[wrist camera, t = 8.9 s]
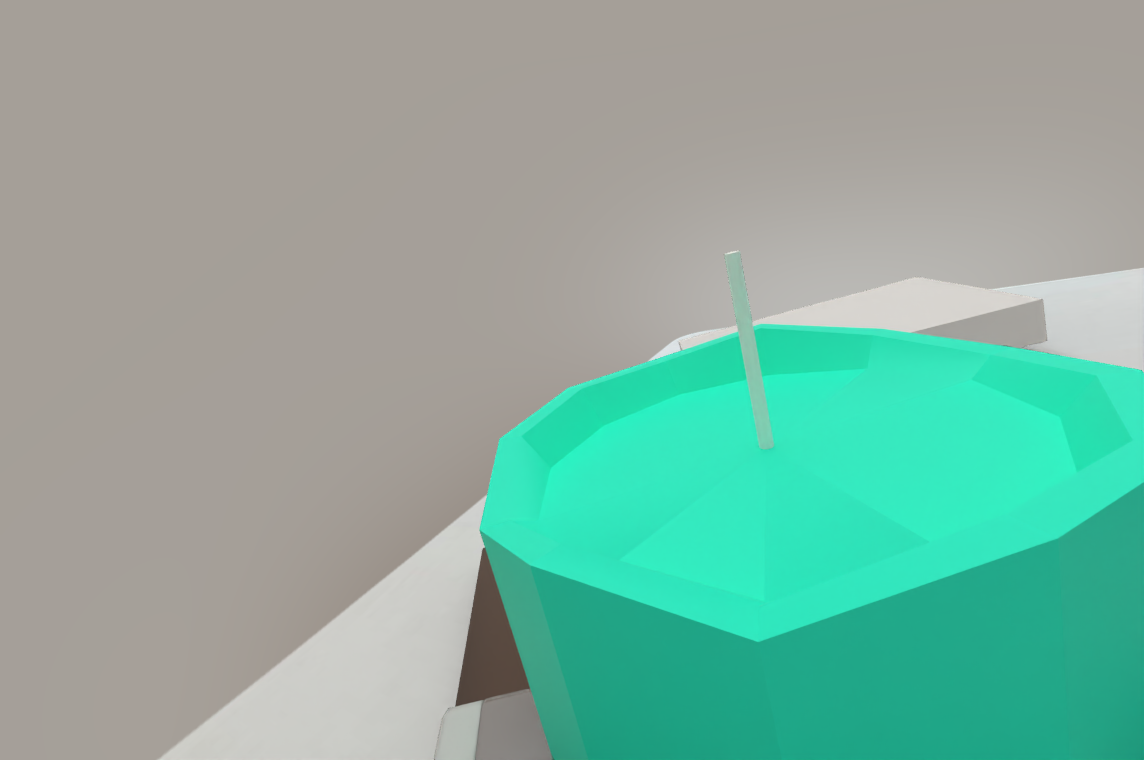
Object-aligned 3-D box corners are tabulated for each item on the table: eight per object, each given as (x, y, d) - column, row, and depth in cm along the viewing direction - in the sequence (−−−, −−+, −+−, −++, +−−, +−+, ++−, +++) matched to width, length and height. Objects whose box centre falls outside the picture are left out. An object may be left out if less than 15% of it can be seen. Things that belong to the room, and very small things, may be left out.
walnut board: (454, 793, 17) (444, 766, 16) (488, 565, 28) (482, 547, 28) (1129, 609, 16) (1128, 578, 16) (883, 457, 28) (880, 438, 28)
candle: (696, 839, 12) (552, 275, 9) (1047, 890, 10) (997, 170, 7) (635, 1368, 7) (244, 404, 4) (1380, 1747, 4) (1747, 125, 2)
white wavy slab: (711, 434, 37) (1048, 353, 34) (698, 386, 36) (1042, 298, 33) (687, 376, 51) (922, 315, 48) (678, 340, 51) (916, 276, 48)
